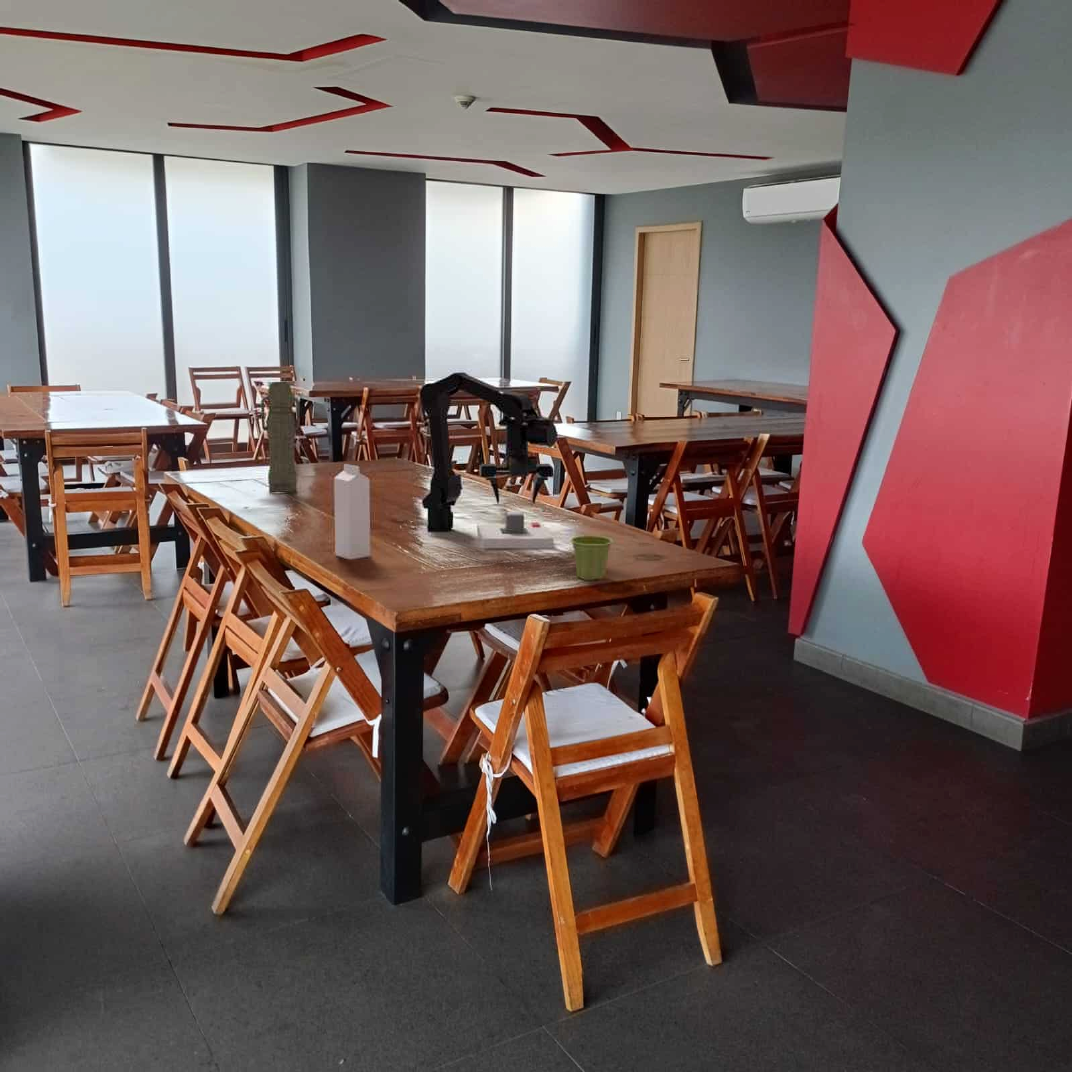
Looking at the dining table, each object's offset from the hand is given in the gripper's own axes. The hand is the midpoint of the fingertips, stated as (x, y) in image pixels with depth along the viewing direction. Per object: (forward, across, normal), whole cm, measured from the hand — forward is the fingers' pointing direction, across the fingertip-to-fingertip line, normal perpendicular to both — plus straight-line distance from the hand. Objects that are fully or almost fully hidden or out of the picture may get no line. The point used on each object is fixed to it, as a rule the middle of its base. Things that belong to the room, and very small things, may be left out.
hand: (515, 503), depth 257 cm
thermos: (+10, -67, +74) cm, 101 cm away
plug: (+10, 0, 0) cm, 10 cm away
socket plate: (+10, 0, 0) cm, 10 cm away
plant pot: (+10, +13, -38) cm, 41 cm away
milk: (+10, -41, -16) cm, 45 cm away
